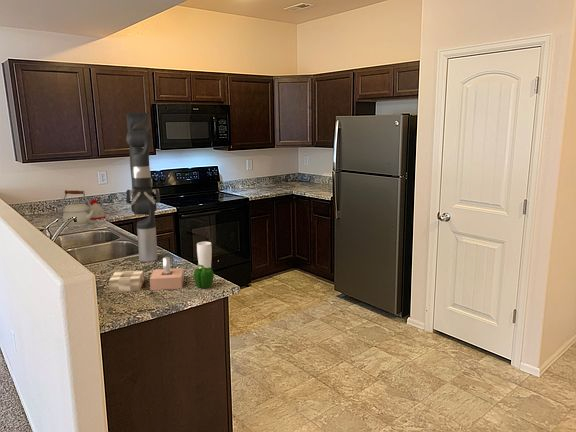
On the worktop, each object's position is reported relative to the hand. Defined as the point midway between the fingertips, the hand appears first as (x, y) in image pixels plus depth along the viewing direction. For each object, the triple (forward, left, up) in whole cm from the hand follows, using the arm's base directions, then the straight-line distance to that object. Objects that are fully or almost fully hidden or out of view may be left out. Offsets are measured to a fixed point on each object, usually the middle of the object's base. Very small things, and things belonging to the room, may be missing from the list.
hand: (144, 212), depth 201 cm
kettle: (-128, -66, -30) cm, 147 cm away
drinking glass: (+2, +26, -30) cm, 40 cm away
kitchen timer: (-152, -61, -30) cm, 167 cm away
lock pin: (+13, +10, -30) cm, 34 cm away
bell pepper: (+19, +26, -30) cm, 44 cm away
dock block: (+13, +10, -30) cm, 34 cm away
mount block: (+13, -7, -30) cm, 34 cm away
